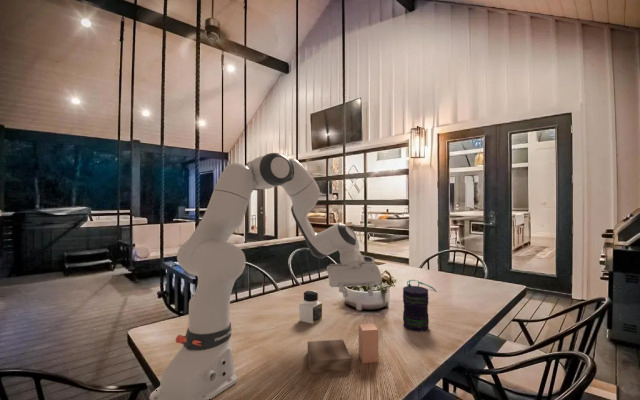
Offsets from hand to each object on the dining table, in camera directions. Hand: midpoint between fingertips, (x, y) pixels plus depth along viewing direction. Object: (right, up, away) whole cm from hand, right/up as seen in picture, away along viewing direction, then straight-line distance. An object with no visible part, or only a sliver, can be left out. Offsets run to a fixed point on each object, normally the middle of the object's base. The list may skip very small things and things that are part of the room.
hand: (358, 295), depth 105 cm
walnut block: (-11, -16, -14) cm, 24 cm away
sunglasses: (+43, -17, +60) cm, 76 cm away
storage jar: (+25, -16, +11) cm, 32 cm away
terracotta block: (+2, -16, -13) cm, 20 cm away
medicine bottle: (-18, -17, +18) cm, 30 cm away
